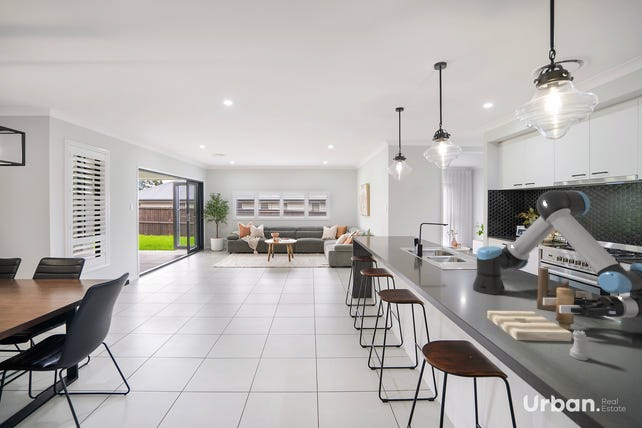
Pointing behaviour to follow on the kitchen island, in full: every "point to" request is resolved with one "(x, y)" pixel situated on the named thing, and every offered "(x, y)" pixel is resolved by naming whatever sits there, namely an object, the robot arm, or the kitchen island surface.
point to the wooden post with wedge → (544, 291)
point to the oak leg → (564, 298)
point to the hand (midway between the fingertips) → (551, 305)
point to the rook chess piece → (579, 346)
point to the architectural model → (584, 294)
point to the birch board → (528, 326)
